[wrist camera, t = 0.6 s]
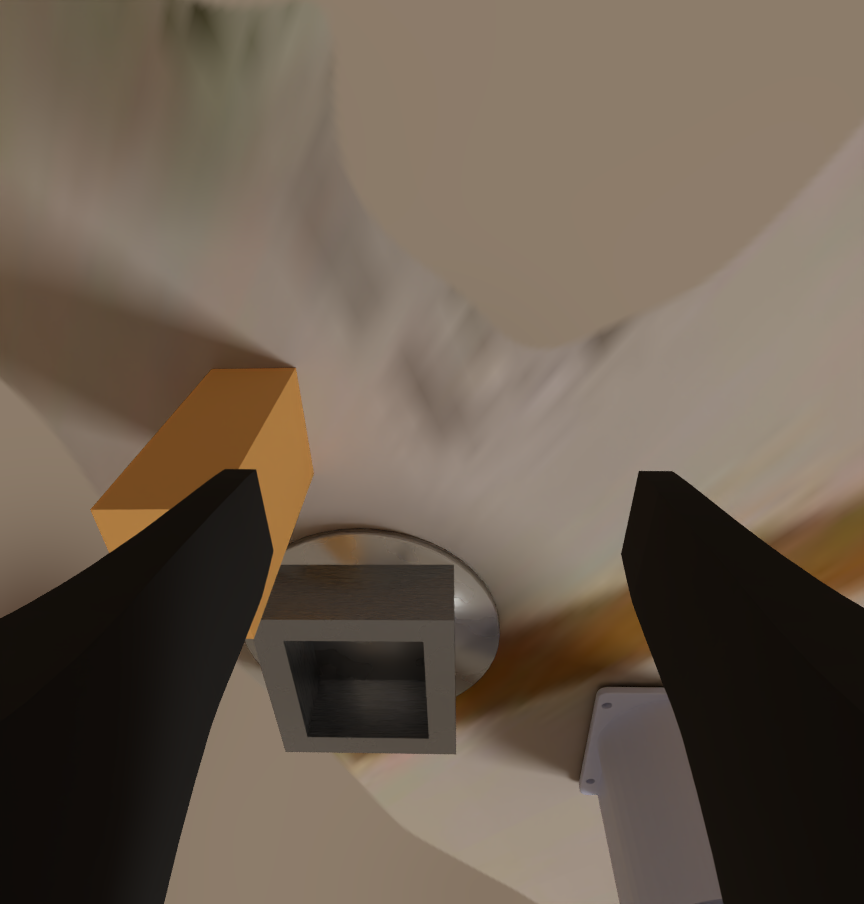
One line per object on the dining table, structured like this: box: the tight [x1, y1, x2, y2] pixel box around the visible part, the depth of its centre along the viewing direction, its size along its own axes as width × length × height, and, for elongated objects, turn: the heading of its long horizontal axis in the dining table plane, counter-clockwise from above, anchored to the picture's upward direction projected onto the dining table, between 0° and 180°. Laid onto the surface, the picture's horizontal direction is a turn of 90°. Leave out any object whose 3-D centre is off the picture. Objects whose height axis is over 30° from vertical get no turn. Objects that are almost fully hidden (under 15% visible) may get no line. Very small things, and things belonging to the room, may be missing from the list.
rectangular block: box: [91, 368, 314, 639], centre depth 18 cm, size 3×4×8 cm, turn 2°
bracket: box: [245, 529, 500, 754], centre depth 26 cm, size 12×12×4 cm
